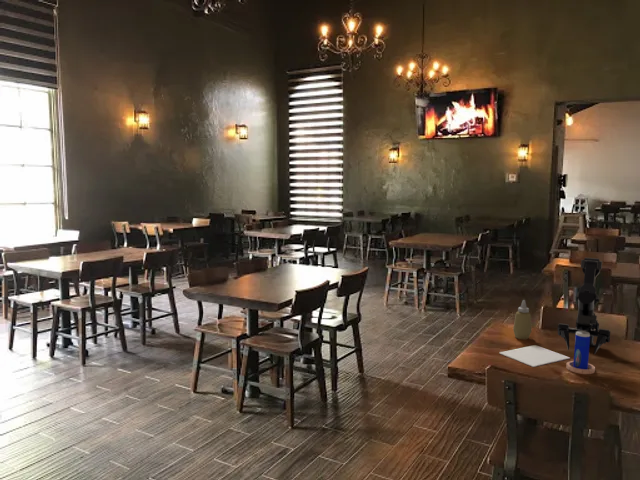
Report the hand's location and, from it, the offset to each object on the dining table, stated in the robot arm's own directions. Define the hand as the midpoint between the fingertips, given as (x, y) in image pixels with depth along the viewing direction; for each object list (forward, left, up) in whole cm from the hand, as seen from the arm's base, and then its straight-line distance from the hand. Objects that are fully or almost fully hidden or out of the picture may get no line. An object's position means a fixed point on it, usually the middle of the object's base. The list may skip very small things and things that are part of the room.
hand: (581, 351), depth 208 cm
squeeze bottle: (-12, -40, -8) cm, 42 cm away
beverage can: (-1, -1, -8) cm, 8 cm away
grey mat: (+3, -20, -8) cm, 21 cm away
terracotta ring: (-1, -1, -8) cm, 8 cm away
